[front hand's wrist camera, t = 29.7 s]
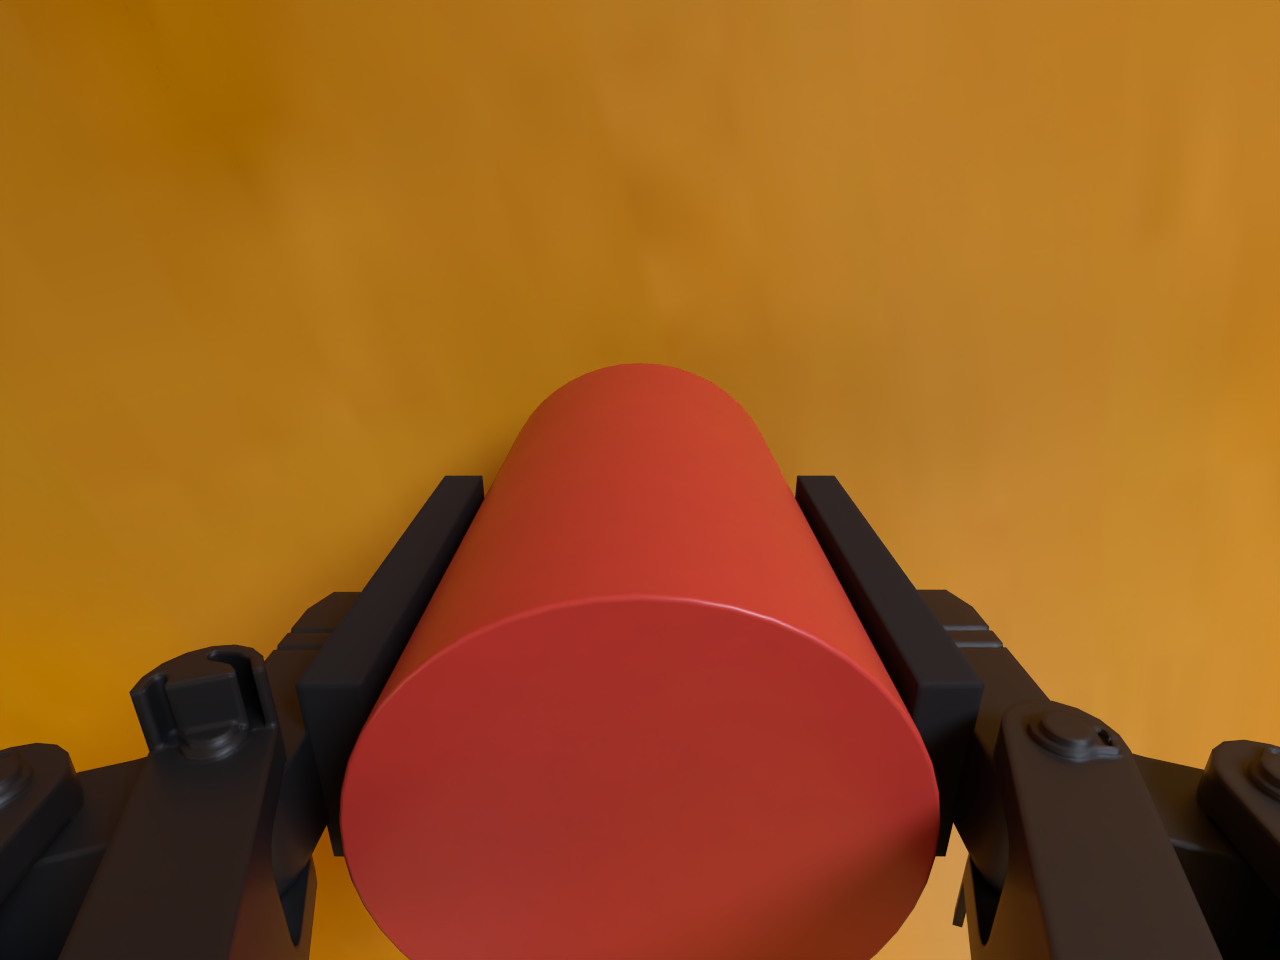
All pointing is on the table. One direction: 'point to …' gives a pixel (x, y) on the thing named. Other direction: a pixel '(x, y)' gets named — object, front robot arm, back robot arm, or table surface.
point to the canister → (639, 712)
